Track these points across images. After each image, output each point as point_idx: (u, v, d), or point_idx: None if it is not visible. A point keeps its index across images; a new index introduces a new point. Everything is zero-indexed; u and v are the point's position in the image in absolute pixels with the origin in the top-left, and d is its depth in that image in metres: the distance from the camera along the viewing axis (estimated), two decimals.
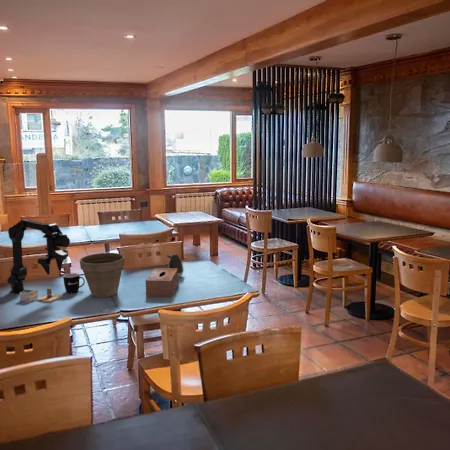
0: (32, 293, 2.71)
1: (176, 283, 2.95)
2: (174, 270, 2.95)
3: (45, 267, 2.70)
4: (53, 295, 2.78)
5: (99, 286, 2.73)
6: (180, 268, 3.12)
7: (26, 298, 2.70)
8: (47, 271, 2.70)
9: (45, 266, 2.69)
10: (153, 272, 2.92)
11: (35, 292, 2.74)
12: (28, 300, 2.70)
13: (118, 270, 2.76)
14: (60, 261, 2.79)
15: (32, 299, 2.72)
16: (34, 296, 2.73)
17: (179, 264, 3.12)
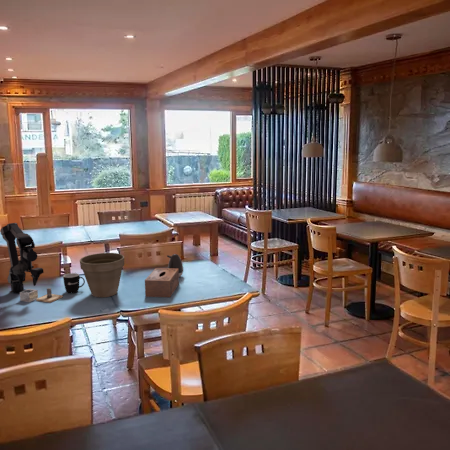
0: (32, 293, 2.71)
1: (176, 283, 2.95)
2: (174, 270, 2.95)
3: None
4: (53, 295, 2.78)
5: (99, 286, 2.73)
6: (180, 268, 3.12)
7: (26, 298, 2.70)
8: None
9: None
10: (153, 272, 2.92)
11: (35, 292, 2.74)
12: (28, 300, 2.70)
13: (118, 270, 2.76)
14: None
15: (32, 299, 2.72)
16: (34, 296, 2.73)
17: (179, 264, 3.12)
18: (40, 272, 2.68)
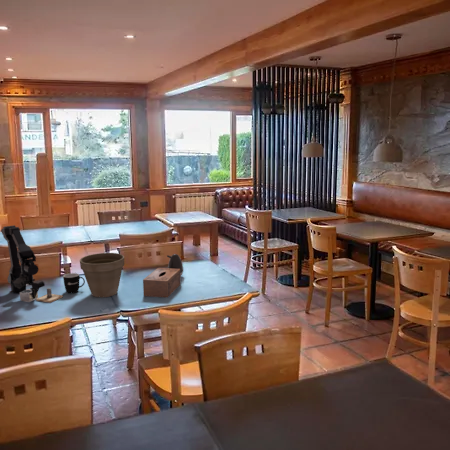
0: None
1: (177, 284, 2.94)
2: (176, 270, 2.95)
3: None
4: (53, 295, 2.78)
5: (99, 286, 2.73)
6: (180, 268, 3.12)
7: (26, 298, 2.70)
8: None
9: None
10: (154, 272, 2.92)
11: None
12: (28, 300, 2.70)
13: (118, 270, 2.76)
14: None
15: (32, 299, 2.72)
16: None
17: (179, 264, 3.12)
18: (41, 285, 2.69)
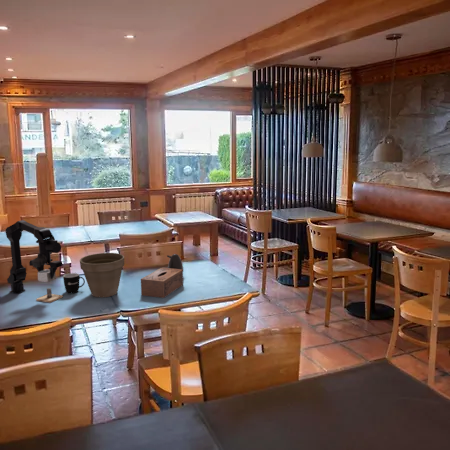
0: None
1: (178, 284, 2.93)
2: (177, 271, 2.93)
3: None
4: (53, 295, 2.78)
5: (99, 286, 2.73)
6: (180, 268, 3.12)
7: (44, 278, 2.69)
8: None
9: None
10: (156, 271, 2.93)
11: None
12: (46, 280, 2.69)
13: (118, 270, 2.76)
14: None
15: (50, 279, 2.70)
16: None
17: (179, 264, 3.12)
18: (59, 265, 2.68)
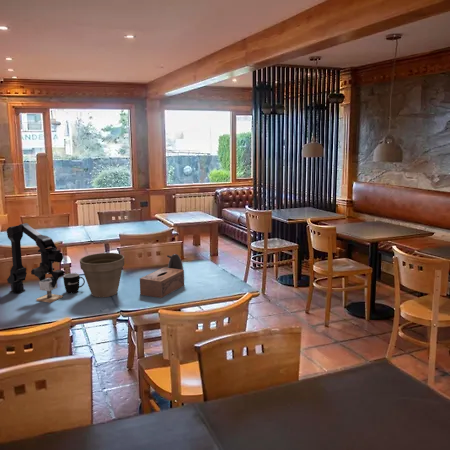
0: None
1: (178, 285, 2.92)
2: (177, 271, 2.93)
3: None
4: (53, 295, 2.78)
5: (99, 286, 2.73)
6: (180, 268, 3.12)
7: (46, 287, 2.70)
8: None
9: None
10: (156, 271, 2.93)
11: None
12: (48, 289, 2.70)
13: (118, 270, 2.76)
14: None
15: (52, 288, 2.72)
16: None
17: (179, 264, 3.12)
18: (61, 274, 2.69)
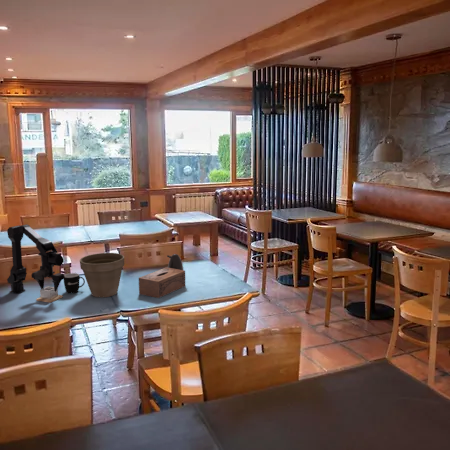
0: (52, 290, 2.72)
1: (178, 285, 2.91)
2: (178, 272, 2.92)
3: None
4: None
5: (99, 286, 2.73)
6: (180, 268, 3.12)
7: (46, 295, 2.71)
8: None
9: None
10: (158, 271, 2.94)
11: None
12: (48, 297, 2.71)
13: (118, 270, 2.76)
14: None
15: (52, 296, 2.73)
16: (54, 293, 2.74)
17: (179, 264, 3.12)
18: (61, 278, 2.70)
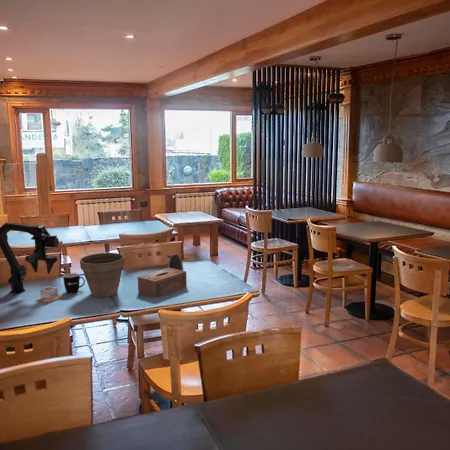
0: (52, 290, 2.72)
1: (178, 286, 2.90)
2: (179, 272, 2.90)
3: None
4: None
5: (99, 286, 2.73)
6: (180, 268, 3.12)
7: (46, 295, 2.71)
8: None
9: None
10: (159, 271, 2.94)
11: (55, 290, 2.74)
12: (48, 297, 2.71)
13: (118, 270, 2.76)
14: None
15: (52, 296, 2.73)
16: (54, 293, 2.74)
17: (179, 264, 3.12)
18: (54, 260, 2.79)
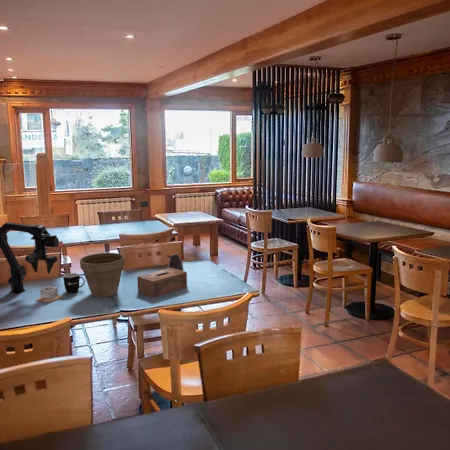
0: (52, 290, 2.72)
1: (178, 286, 2.89)
2: (179, 273, 2.90)
3: None
4: None
5: (99, 286, 2.73)
6: (180, 268, 3.12)
7: (46, 295, 2.71)
8: None
9: None
10: (160, 271, 2.94)
11: (55, 290, 2.74)
12: (48, 297, 2.71)
13: (118, 270, 2.76)
14: None
15: (52, 296, 2.73)
16: (54, 293, 2.74)
17: (179, 264, 3.12)
18: (54, 260, 2.79)
